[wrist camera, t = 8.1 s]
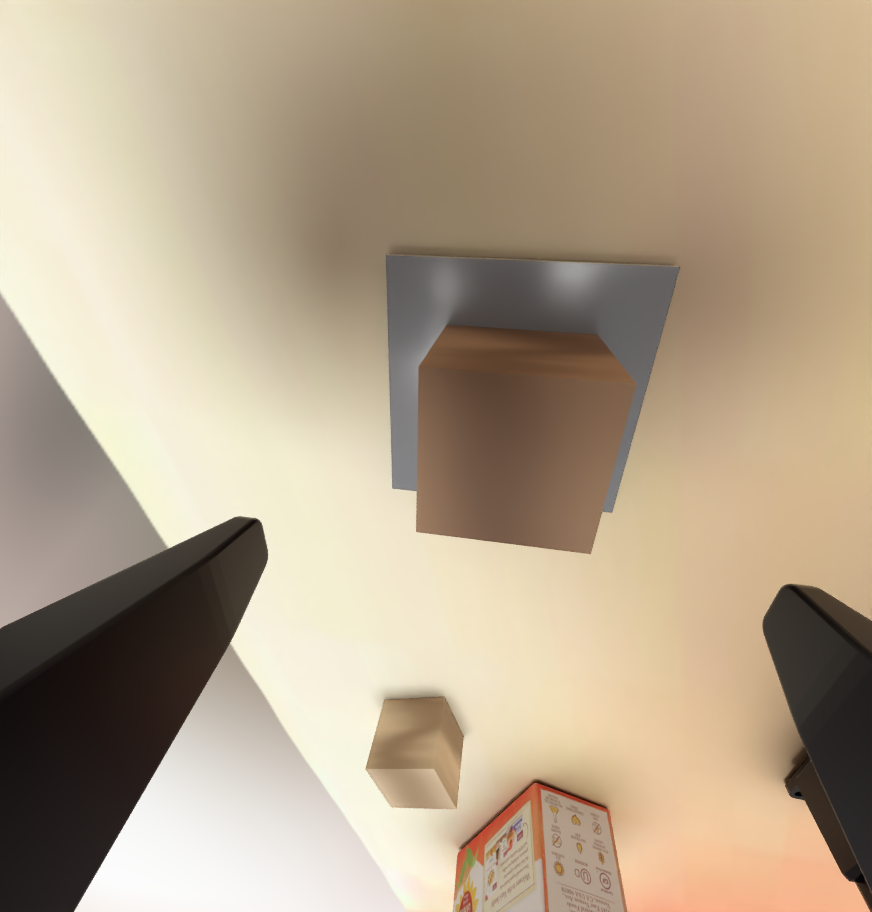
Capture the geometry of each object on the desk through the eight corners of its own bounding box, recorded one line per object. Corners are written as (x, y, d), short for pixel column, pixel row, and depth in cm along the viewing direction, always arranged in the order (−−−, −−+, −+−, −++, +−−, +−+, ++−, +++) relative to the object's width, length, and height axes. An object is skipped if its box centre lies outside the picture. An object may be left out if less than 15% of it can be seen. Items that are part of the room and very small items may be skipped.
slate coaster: (673, 265, 13) (680, 267, 13) (609, 503, 17) (612, 512, 17) (390, 253, 14) (386, 255, 14) (395, 481, 19) (392, 488, 18)
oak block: (444, 695, 26) (433, 768, 22) (463, 734, 27) (456, 809, 24) (384, 698, 27) (365, 769, 23) (406, 736, 28) (391, 807, 25)
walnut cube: (597, 334, 14) (636, 384, 10) (569, 466, 16) (590, 554, 12) (446, 324, 15) (418, 366, 10) (440, 453, 17) (416, 532, 13)
